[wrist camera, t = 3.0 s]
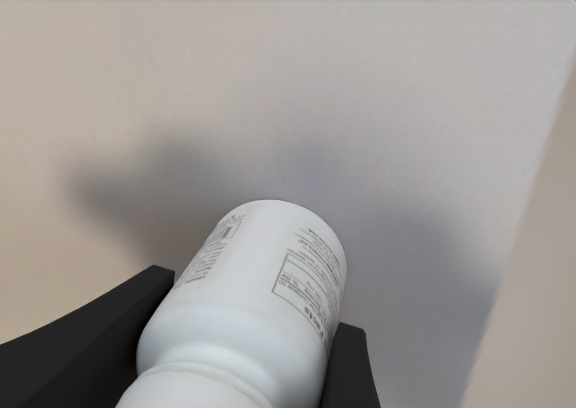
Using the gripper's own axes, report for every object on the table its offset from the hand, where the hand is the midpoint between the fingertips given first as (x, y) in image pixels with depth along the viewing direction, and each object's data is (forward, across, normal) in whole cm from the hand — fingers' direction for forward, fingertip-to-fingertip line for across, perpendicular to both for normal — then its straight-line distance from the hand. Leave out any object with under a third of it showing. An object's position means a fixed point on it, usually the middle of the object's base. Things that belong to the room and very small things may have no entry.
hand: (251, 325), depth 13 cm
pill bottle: (+3, 0, 0) cm, 3 cm away
